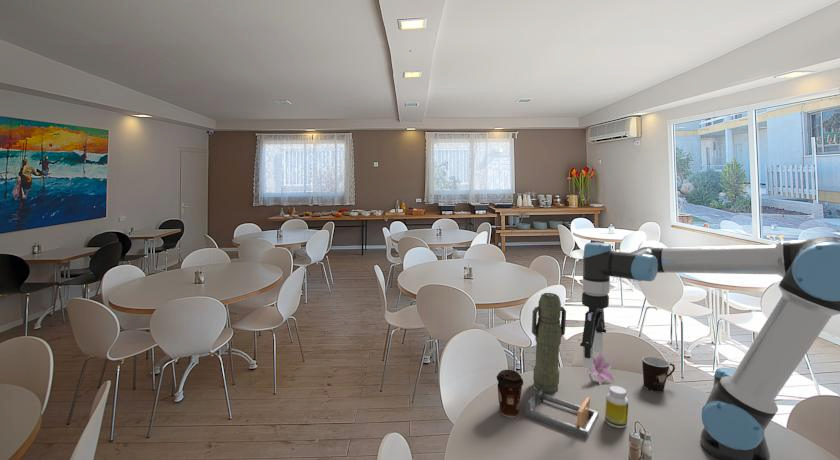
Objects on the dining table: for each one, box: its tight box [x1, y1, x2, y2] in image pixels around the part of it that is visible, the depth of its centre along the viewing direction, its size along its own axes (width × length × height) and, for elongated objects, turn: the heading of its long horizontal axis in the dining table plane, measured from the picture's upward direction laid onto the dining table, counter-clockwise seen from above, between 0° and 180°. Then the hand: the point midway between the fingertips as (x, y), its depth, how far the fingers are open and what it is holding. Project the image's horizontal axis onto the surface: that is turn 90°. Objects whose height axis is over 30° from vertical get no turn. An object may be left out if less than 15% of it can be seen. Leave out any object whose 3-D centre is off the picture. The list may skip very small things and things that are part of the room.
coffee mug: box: [641, 355, 676, 392], centre depth 143 cm, size 12×9×10 cm
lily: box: [587, 352, 615, 386], centre depth 149 cm, size 12×12×10 cm
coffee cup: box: [496, 369, 524, 419], centre depth 127 cm, size 9×8×13 cm
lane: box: [525, 388, 599, 439], centre depth 125 cm, size 19×13×4 cm
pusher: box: [542, 396, 591, 428], centre depth 124 cm, size 13×10×6 cm
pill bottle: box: [604, 385, 629, 429], centre depth 121 cm, size 6×6×11 cm
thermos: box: [531, 292, 567, 394], centre depth 141 cm, size 9×12×35 cm
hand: (592, 359), depth 122 cm, fingers open, 13 cm apart
